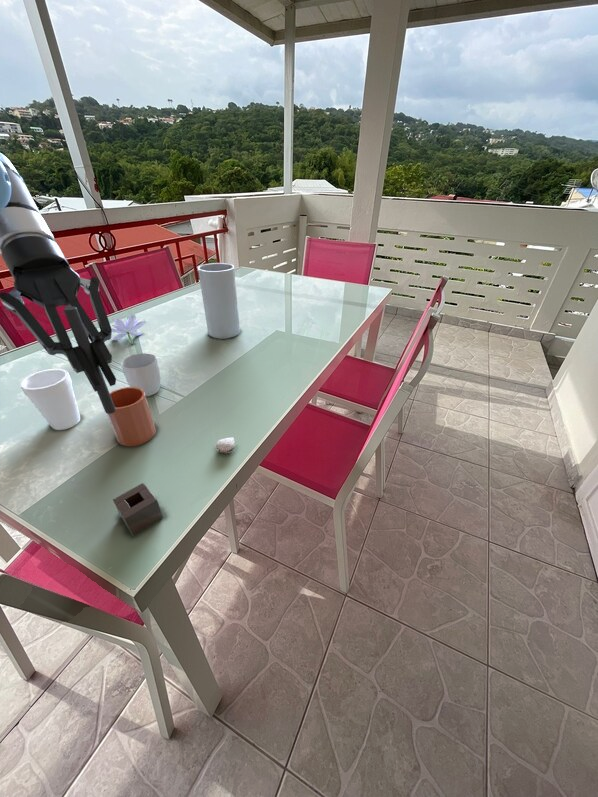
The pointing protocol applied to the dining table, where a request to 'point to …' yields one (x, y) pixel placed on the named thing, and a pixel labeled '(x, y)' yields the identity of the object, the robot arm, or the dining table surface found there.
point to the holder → (138, 508)
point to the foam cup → (53, 397)
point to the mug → (142, 372)
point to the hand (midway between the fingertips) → (105, 385)
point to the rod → (89, 356)
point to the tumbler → (131, 417)
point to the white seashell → (225, 445)
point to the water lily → (127, 327)
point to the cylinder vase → (219, 299)
